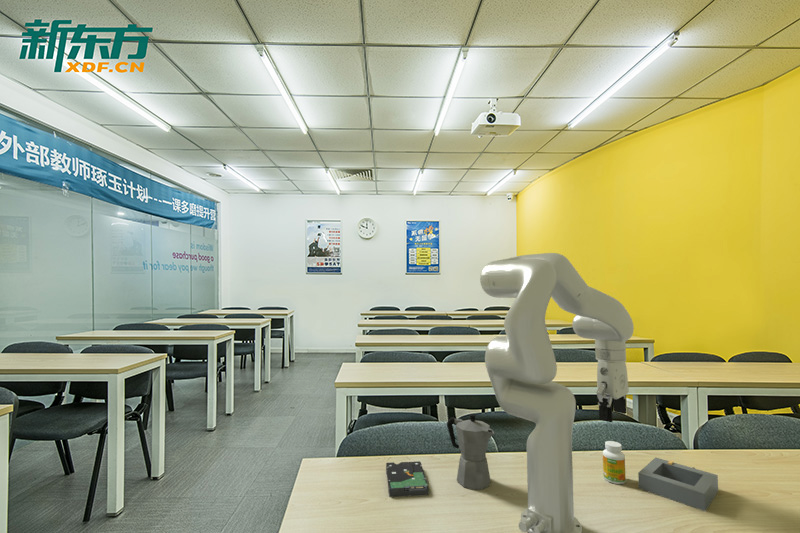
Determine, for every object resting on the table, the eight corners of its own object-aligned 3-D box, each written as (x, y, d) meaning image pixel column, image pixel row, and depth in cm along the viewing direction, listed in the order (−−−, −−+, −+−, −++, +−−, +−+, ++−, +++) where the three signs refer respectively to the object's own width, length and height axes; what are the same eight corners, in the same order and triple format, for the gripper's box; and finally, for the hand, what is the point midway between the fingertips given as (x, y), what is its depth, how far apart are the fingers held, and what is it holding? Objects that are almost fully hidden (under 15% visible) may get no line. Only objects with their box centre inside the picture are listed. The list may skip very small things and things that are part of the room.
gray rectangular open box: (705, 511, 91) (704, 492, 91) (638, 488, 102) (638, 471, 102) (725, 479, 106) (724, 463, 106) (665, 462, 117) (665, 447, 117)
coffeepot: (504, 483, 104) (502, 415, 105) (485, 497, 98) (483, 424, 99) (457, 465, 115) (456, 404, 116) (437, 476, 108) (437, 411, 109)
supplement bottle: (605, 483, 104) (604, 446, 105) (601, 473, 110) (600, 438, 110) (628, 486, 103) (626, 448, 103) (622, 476, 108) (621, 441, 108)
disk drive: (385, 472, 112) (389, 499, 98) (385, 462, 112) (389, 487, 98) (420, 470, 113) (429, 496, 99) (420, 460, 114) (429, 485, 99)
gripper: (612, 361, 100) (615, 428, 99) (636, 352, 111) (639, 412, 110) (583, 357, 105) (585, 420, 105) (608, 349, 117) (611, 406, 116)
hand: (613, 416), depth 107 cm, fingers open, 9 cm apart
